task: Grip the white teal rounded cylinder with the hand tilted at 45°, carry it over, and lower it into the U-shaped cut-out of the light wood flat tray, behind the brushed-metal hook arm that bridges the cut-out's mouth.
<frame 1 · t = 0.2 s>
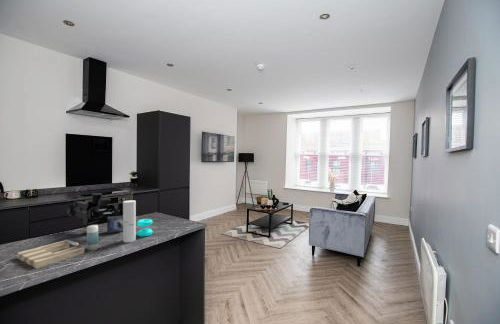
hand: (112, 213, 153), 17 cm above the counter, tool horizontal, fingers open, 9 cm apart
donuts: (144, 235, 164), on the counter
white teal rounded cylinder: (92, 248, 139), on the counter
light wood flat tray: (59, 253, 132), on the counter
cylindrical container: (129, 240, 153), on the counter
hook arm: (72, 243, 137), on the light wood flat tray, point 3 cm above the counter
small box: (115, 232, 170), on the counter
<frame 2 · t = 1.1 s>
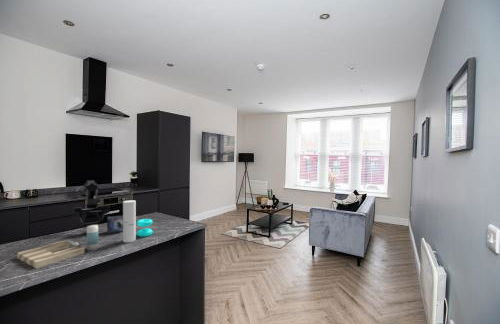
hand: (92, 222, 145), 14 cm above the counter, tool tilted 45°, fingers open, 9 cm apart
nothing on the counter moved.
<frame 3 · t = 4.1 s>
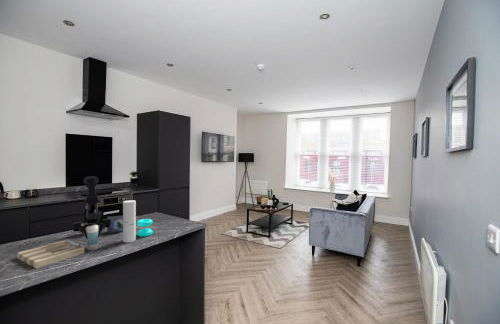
hand: (92, 237, 138), 7 cm above the counter, tool tilted 45°, fingers closed on white teal rounded cylinder, 6 cm apart
white teal rounded cylinder: (92, 248, 139), on the counter, touching gripper
everything else where it was.
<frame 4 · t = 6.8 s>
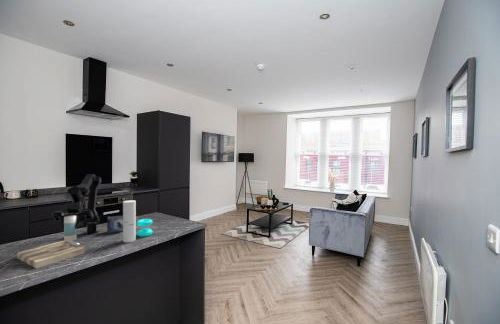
hand: (69, 228, 132), 14 cm above the counter, tool tilted 45°, fingers closed on white teal rounded cylinder, 6 cm apart
white teal rounded cylinder: (70, 239, 133), point 7 cm above the counter, touching gripper
everything else where it was.
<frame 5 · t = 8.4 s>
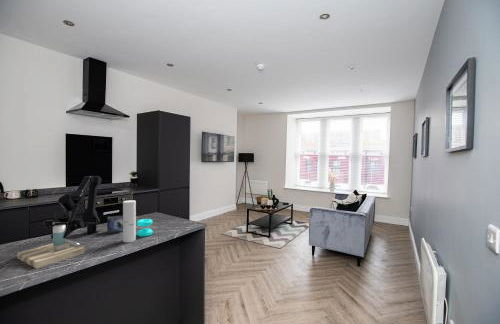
hand: (57, 238, 130), 9 cm above the counter, tool tilted 45°, fingers closed on white teal rounded cylinder, 6 cm apart
white teal rounded cylinder: (59, 249, 132), point 2 cm above the counter, touching gripper
everything else where it was.
when the fingers open (8 cm above the counter, at t = 9.4 s): white teal rounded cylinder drops 1 cm, resting in light wood flat tray.
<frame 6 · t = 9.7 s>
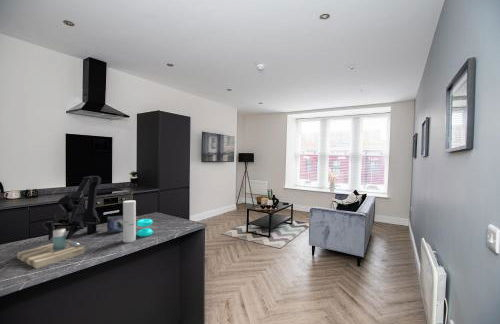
hand: (57, 239, 130), 8 cm above the counter, tool tilted 45°, fingers open, 8 cm apart
white teal rounded cylinder: (59, 253, 132), resting in light wood flat tray
everything else where it was.
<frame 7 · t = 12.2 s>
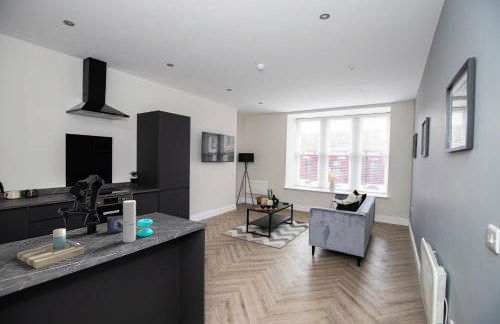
hand: (75, 225, 142), 12 cm above the counter, tool tilted 25°, fingers open, 9 cm apart
nothing on the counter moved.
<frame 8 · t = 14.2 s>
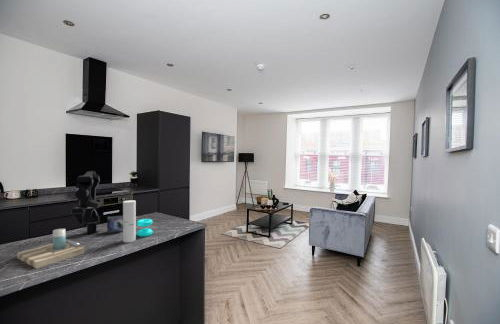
hand: (85, 221, 148), 13 cm above the counter, tool pointing down, fingers open, 9 cm apart
nothing on the counter moved.
at the end: white teal rounded cylinder 0.0 cm off-centre on the light wood flat tray, point 0.0 cm above the light wood flat tray's base; white teal rounded cylinder tilted 0°; the gripper is holding nothing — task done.
